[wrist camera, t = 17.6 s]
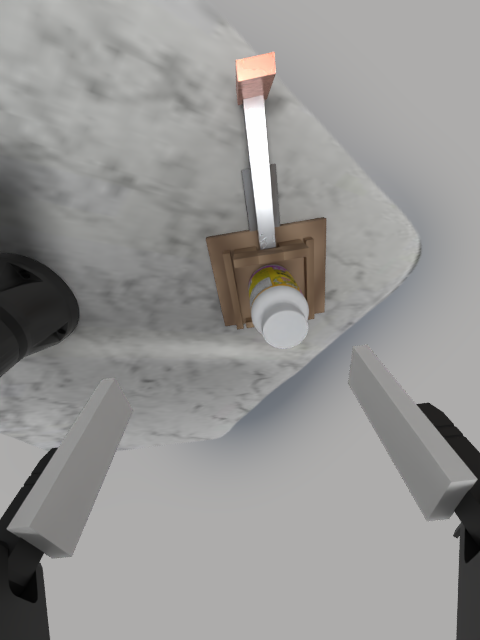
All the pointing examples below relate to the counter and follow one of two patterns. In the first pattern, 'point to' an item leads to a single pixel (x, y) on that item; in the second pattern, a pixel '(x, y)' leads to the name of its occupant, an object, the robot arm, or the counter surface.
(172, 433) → the counter surface
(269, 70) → the lock pin
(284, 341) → the supplement bottle
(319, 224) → the dock
